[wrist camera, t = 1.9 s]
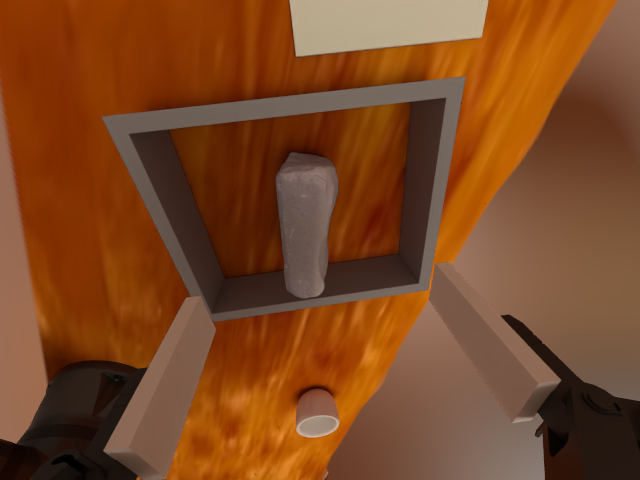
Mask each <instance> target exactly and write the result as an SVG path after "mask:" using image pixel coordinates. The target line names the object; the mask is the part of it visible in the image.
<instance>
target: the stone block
mask: <svg viewBox="0 0 640 480" xmlns="http://www.w3.org/2000/svg"><path fill="white" fill-rule="evenodd" d="M276 190H277V202H278V211H279V220H280V229H281V238H282V253H283V257H284V277H285V283H286V289H287V291H289V292H291V294H293V295H294V296H297V297H300V298H309V297H316V296H318V295H320V294H321V293H322V292H323V290H324V279H325V275H326V269H327V266H328V247H327V245H328V230H329V223H330V218H331V215H332V211H333V209H334V206H335V202H336V198H337V194H338V177H337V174H336V170H335V165H333V164H332V162H331V160H329V159H328V158H325V157H319V156H316V155H311V154H305V153H297V152H294V153H293V152H290V154H289V156H288V158H287V160H286V162H285V163H284V164H283V165H282V167H281V168H280V171H279V172H278V173H277V176H276Z"/></svg>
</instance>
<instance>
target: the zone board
mask: <svg viewBox="0 0 640 480" xmlns="http://www.w3.org/2000/svg"><path fill="white" fill-rule="evenodd" d="M289 2H290V10H291V19H292V27H293V36H294V44H295V53H296V58H297V57H307V56H316V55H326V54H335V53H345V52H355V51H364V50H374V49H383V48H393V47H403V46H412V45H422V44H431V43H441V42H451V41H460V40H470V39H478V38H481V37H482V32H483V26H484V21H485V16H486V11H487V5H488V0H289Z"/></svg>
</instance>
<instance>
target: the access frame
mask: <svg viewBox="0 0 640 480" xmlns="http://www.w3.org/2000/svg"><path fill="white" fill-rule="evenodd" d="M465 77H466V76H464V77H455V78H446V79H437V80H428V81H419V82H410V83H401V84H392V85H383V86H374V87H364V88H355V89H346V90H337V91H328V92H319V93H310V94H301V95H292V96H283V97H274V98H265V99H256V100H247V101H238V102H229V103H220V104H211V105H202V106H193V107H184V108H175V109H166V110H157V111H148V112H139V113H130V114H121V115H112V116H103V117H102V119H103V121H104V123H105V125H106V127H107V129H108V131H109V133H110V135H111V137H112V139H113V141H114V143H115V145H116V147H117V149H118V151H119V153H120V155H121V157H122V159H123V161H124V163H125V165H126V167H127V169H128V171H129V173H130V175H131V177H132V179H133V181H134V183H135V185H136V187H137V189H138V191H139V193H140V195H141V197H142V199H143V201H144V203H145V205H146V207H147V209H148V211H149V213H150V215H151V217H152V219H153V221H154V223H155V225H156V227H157V229H158V232H159V234H160V236H161V238H162V240H163V242H164V244H165V246H166V248H167V250H168V252H169V254H170V256H171V258H172V260H173V262H174V264H175V266H176V268H177V270H178V272H179V274H180V276H181V278H182V280H183V282H184V284H185V286H186V288H187V290H188V292H189V294H190V296H191V297H195V296H201V298H202V301H203V303H204V305H205V307H206V309H207V311H208V313H209V315H210V317H211V320H212V322H217V321H224V320H230V319H237V318H244V317H251V316H257V315H264V314H271V313H277V312H284V311H291V310H298V309H304V308H311V307H318V306H324V305H331V304H338V303H345V302H351V301H358V300H365V299H371V298H378V297H385V296H392V295H398V294H405V293H412V292H418V291H425V290H428V288H429V282H430V277H431V271H432V265H433V260H434V254H435V248H436V242H437V237H438V231H439V225H440V220H441V214H442V208H443V202H444V197H445V191H446V185H447V180H448V174H449V168H450V163H451V157H452V151H453V145H454V140H455V134H456V128H457V123H458V117H459V111H460V105H461V100H462V94H463V88H464V83H465ZM403 102H411V111H410V123H409V135H408V147H407V158H406V170H405V182H404V194H403V206H402V218H401V230H400V242H399V254H396V255H389V256H382V257H375V258H368V259H361V260H354V261H346V262H339V263H332V264H328V266H327V269H326V275H325V279H324V290H323V292H322V293H321V294H320V295H318V296H316V297H309V298H300V297H297V296H294V295H293V294H291V292H289V291H287V289H286V283H285V277H284V270H283V271H276V272H269V273H262V274H255V275H248V276H241V277H234V278H226V279H225V278H224V275H223V273H222V270H221V268H220V265H219V262H218V260H217V257H216V255H215V252H214V249H213V247H212V244H211V241H210V239H209V236H208V234H207V231H206V228H205V226H204V223H203V220H202V218H201V215H200V213H199V210H198V207H197V205H196V202H195V199H194V197H193V194H192V192H191V189H190V186H189V184H188V181H187V179H186V176H185V173H184V171H183V168H182V165H181V163H180V160H179V158H178V155H177V152H176V150H175V147H174V144H173V142H172V139H171V137H170V134H169V131H168V129H175V128H184V127H193V126H202V125H210V124H219V123H228V122H236V121H245V120H254V119H263V118H271V117H280V116H289V115H298V114H306V113H315V112H324V111H333V110H341V109H350V108H359V107H368V106H376V105H385V104H394V103H403Z"/></svg>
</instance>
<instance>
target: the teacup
mask: <svg viewBox="0 0 640 480" xmlns="http://www.w3.org/2000/svg"><path fill="white" fill-rule="evenodd" d="M338 426H339V417H338V412H337V408H336V404H335V401H334V399H333V397H332V396H331V395H330V393H328V392H327V391H325V390H323V389H312V390H309V391H307V392H306V393H304V394H303V395H302V396H301V398H300V400H299V402H298V405H297V410H296V429H297V432H298V433H299V434H300V435H302V436H305V437H320V436H324V435H327V434H330V433H331V432H333V431H334V430H336V429H337V427H338Z"/></svg>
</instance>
